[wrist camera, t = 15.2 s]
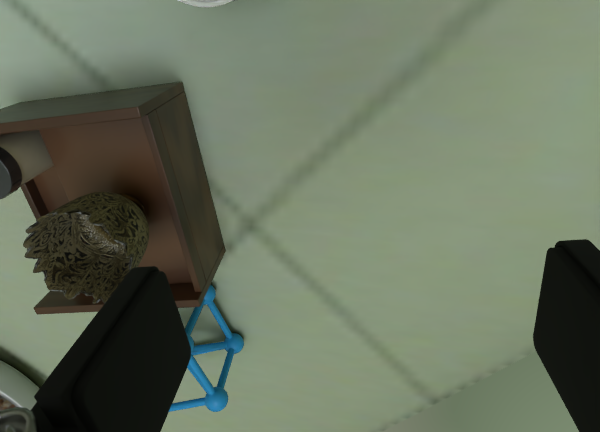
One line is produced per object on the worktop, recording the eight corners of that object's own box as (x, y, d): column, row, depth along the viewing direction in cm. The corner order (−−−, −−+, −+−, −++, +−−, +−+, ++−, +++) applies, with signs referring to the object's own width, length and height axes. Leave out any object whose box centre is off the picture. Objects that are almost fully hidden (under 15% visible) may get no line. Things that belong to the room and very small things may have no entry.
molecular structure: (212, 276, 46) (182, 343, 38) (248, 341, 50) (228, 414, 42) (136, 296, 49) (91, 363, 40) (177, 356, 53) (144, 429, 44)
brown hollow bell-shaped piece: (85, 233, 37) (25, 290, 30) (85, 158, 34) (17, 202, 27) (167, 255, 37) (126, 316, 30) (175, 182, 34) (132, 232, 27)
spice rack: (19, 102, 39) (-64, 130, 31) (182, 81, 36) (137, 106, 29) (88, 260, 47) (36, 314, 39) (225, 251, 45) (200, 307, 37)
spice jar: (12, 122, 37) (-57, 150, 30) (56, 117, 36) (-5, 144, 30) (33, 167, 38) (-28, 202, 32) (74, 163, 38) (21, 197, 32)
